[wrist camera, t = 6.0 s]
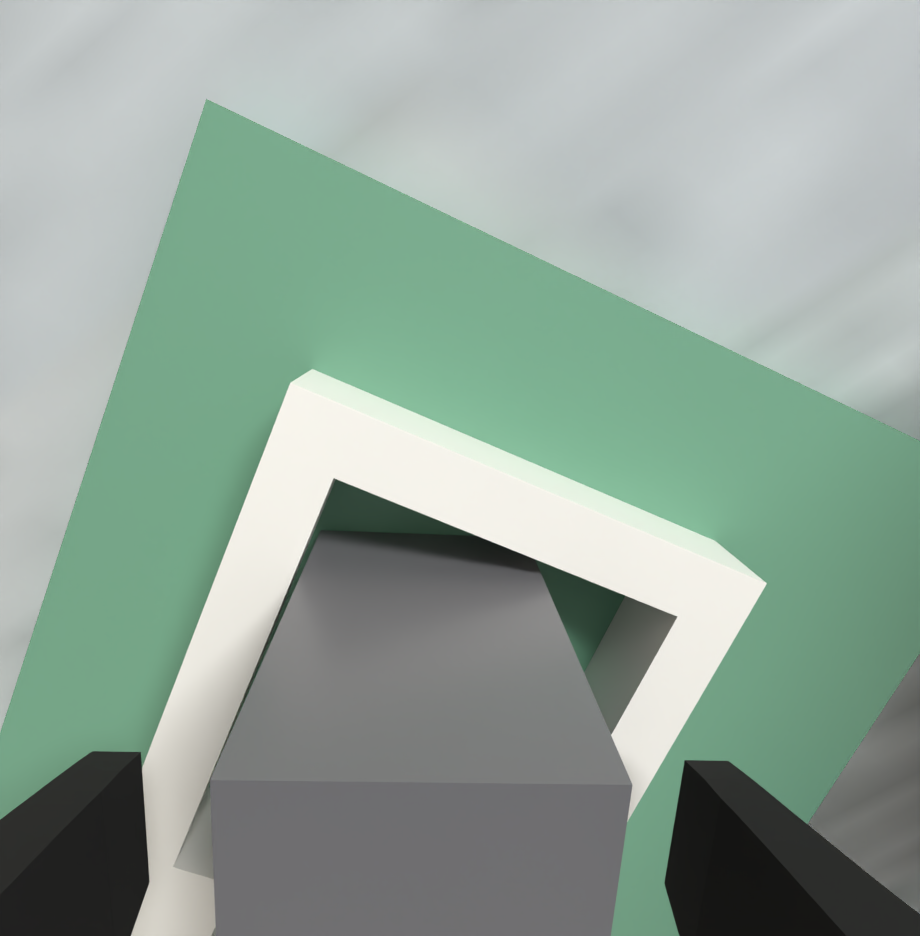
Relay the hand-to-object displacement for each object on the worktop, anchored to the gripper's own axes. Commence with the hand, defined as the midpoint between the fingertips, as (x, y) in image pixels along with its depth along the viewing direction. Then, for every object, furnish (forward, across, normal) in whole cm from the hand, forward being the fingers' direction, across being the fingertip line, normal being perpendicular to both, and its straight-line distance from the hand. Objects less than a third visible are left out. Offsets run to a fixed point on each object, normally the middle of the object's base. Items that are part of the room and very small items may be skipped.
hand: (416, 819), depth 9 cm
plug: (+3, 0, 0) cm, 3 cm away
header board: (+4, -1, 0) cm, 4 cm away
